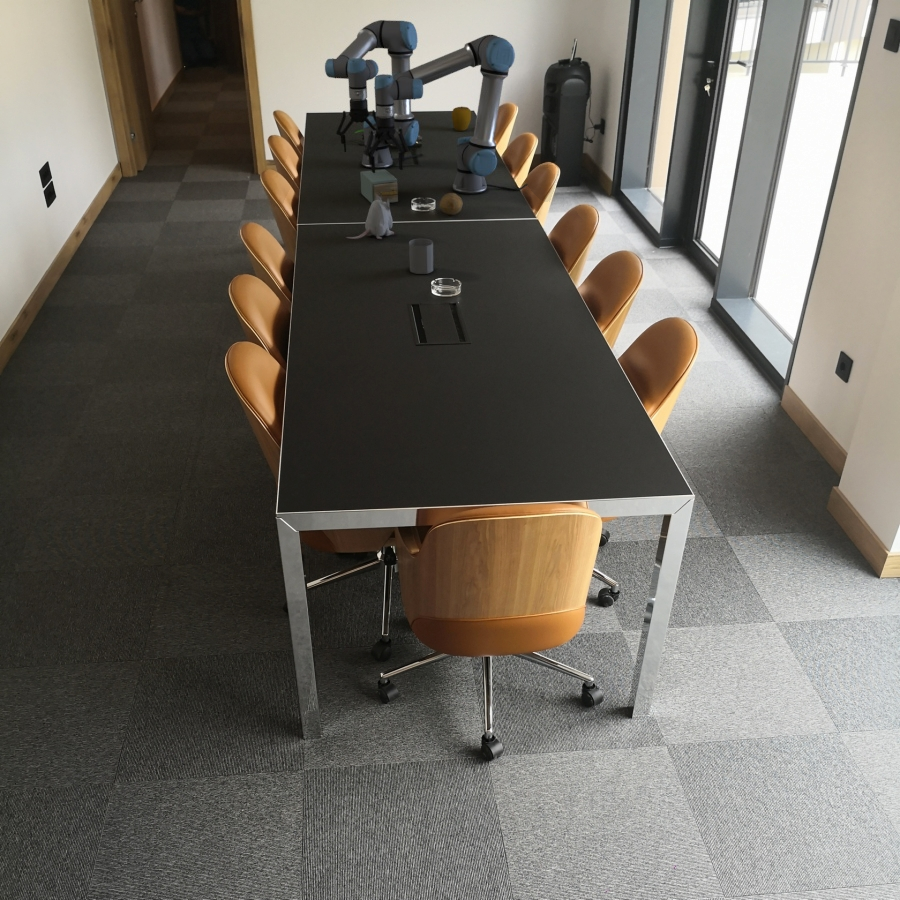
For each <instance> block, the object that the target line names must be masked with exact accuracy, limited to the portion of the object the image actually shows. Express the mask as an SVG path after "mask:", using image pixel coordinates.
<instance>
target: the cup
mask: <svg viewBox="0 0 900 900" xmlns="http://www.w3.org/2000/svg"><path fill="white" fill-rule="evenodd" d="M408 253H409V272H411V273H412V274H416V275H426V274H430V273H432V272H434V241H433V240H431V239H428V238H422V237H421V238H420V237H419V238H414V239H411V240H410V241H409V242H408Z"/></svg>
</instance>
